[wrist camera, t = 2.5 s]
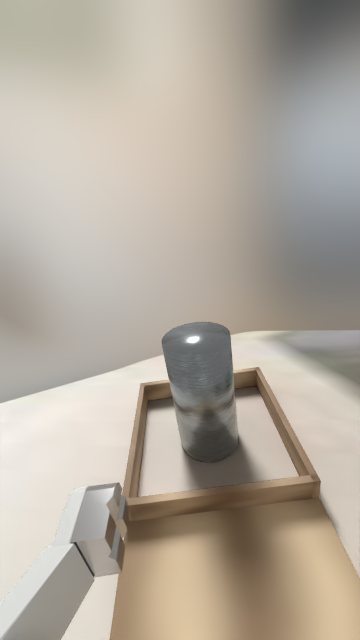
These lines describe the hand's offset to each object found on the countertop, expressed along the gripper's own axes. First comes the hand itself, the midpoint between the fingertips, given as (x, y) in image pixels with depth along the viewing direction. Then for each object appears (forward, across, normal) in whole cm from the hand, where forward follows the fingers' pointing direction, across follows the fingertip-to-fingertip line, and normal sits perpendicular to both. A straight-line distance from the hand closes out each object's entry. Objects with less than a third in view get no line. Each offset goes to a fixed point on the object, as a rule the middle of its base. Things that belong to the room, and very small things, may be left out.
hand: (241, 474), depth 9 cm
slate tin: (+13, +1, +12) cm, 18 cm away
